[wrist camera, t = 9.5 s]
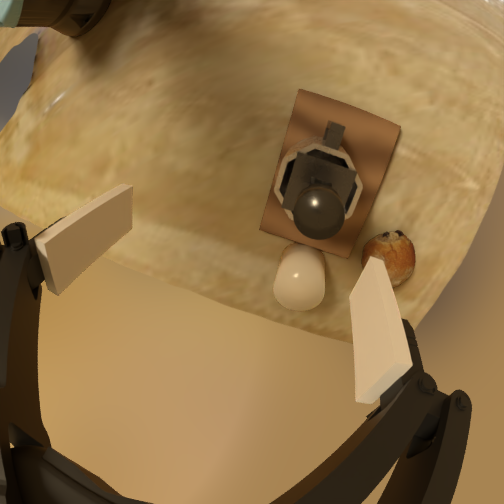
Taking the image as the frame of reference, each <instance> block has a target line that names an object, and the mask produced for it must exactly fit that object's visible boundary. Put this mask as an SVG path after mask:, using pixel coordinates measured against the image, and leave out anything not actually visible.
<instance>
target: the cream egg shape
mask: <svg viewBox="0 0 504 504" xmlns="http://www.w3.org/2000/svg"><path fill="white" fill-rule="evenodd" d="M273 293H274V296H275V298H276V300H277V301H278V302H279V303H280V304H281V305H282V306H284V307H285V308H287V309H290V310H294V311H307V310H310V309H313V308H315V307H316V306H318V305H319V304H320V303H321V302H322V300H323V298H324V295H325V258H324V255H323V253H322V251H321V250H320V249H317V248H314V247H311V246H308V245H305V244H302V243H299V242H295V243H292V244H290V245H289V246H287V247H286V248H285V249H284V251H283V253H282V255H281V259H280V263H279V267H278V271H277V275H276V278H275V282H274V286H273Z"/></svg>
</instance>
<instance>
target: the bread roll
mask: <svg viewBox="0 0 504 504" xmlns="http://www.w3.org/2000/svg"><path fill="white" fill-rule="evenodd" d="M370 256H372V257H374V258H377V259H380V260H383V262H384V265H385V267H386V270H387V273H388V276H389V279H390V282H391V285H392V288H394V287H397V286H399V285H400V284H401V283H403V282H404V281H405V280H407V279H408V278H409V276H410V275H411V273H412V271H413V269H414V266H415V250H414V246H413V244H412V243H411V241H410V240H409V239H408V238H407V236H405V235H404V234H403V233H402V232H401V231H400V230H397V231H395V232H385V233H384V234H380V235H377V236H376V237H374V238H373V239H372V240H370V241H369V242H368V243H367V244H366V245H365V246H364V250H363V256H362V267H363V270H364V268H365V266H366V264H367V262H368V260H369V258H370Z"/></svg>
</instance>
